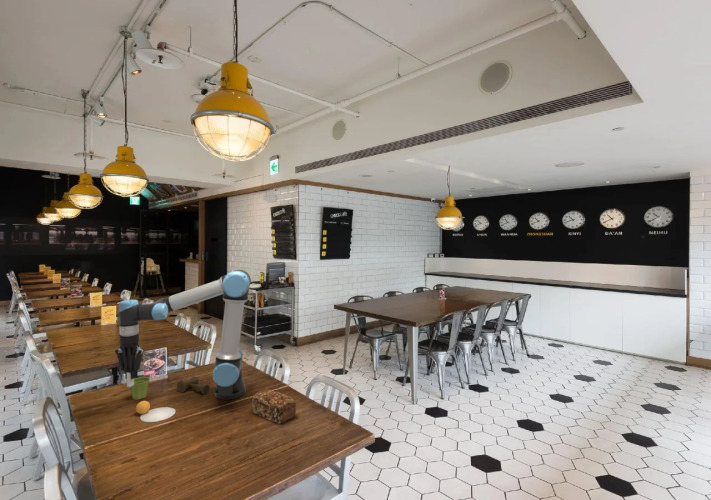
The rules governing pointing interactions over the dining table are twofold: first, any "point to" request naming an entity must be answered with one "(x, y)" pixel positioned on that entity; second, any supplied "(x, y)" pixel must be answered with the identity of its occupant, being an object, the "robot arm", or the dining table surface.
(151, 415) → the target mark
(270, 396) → the bread
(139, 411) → the ball
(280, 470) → the dining table surface
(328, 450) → the dining table surface
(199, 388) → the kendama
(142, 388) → the plant pot
